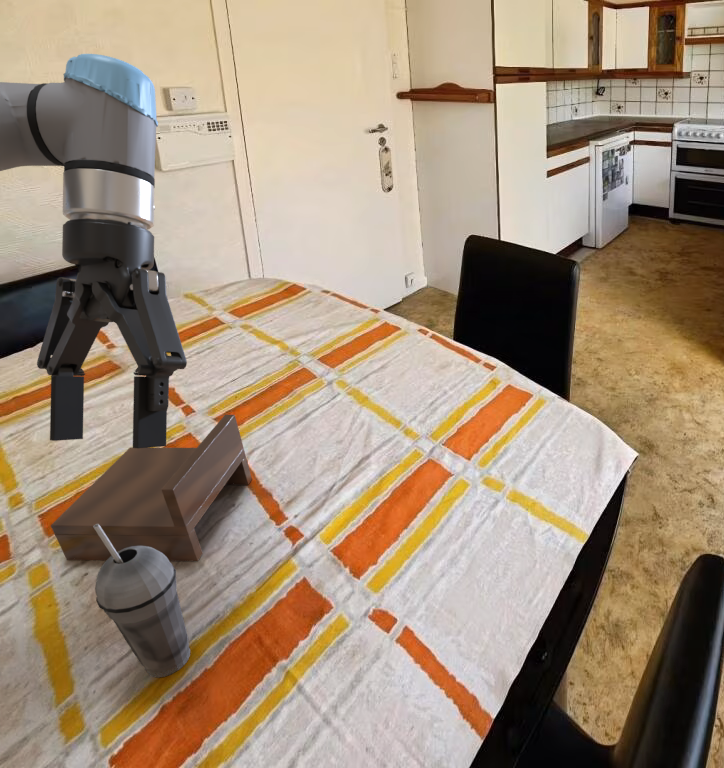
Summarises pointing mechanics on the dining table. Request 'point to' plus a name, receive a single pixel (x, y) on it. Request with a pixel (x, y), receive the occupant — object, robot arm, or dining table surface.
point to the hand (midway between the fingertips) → (106, 443)
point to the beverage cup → (144, 605)
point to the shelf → (155, 498)
